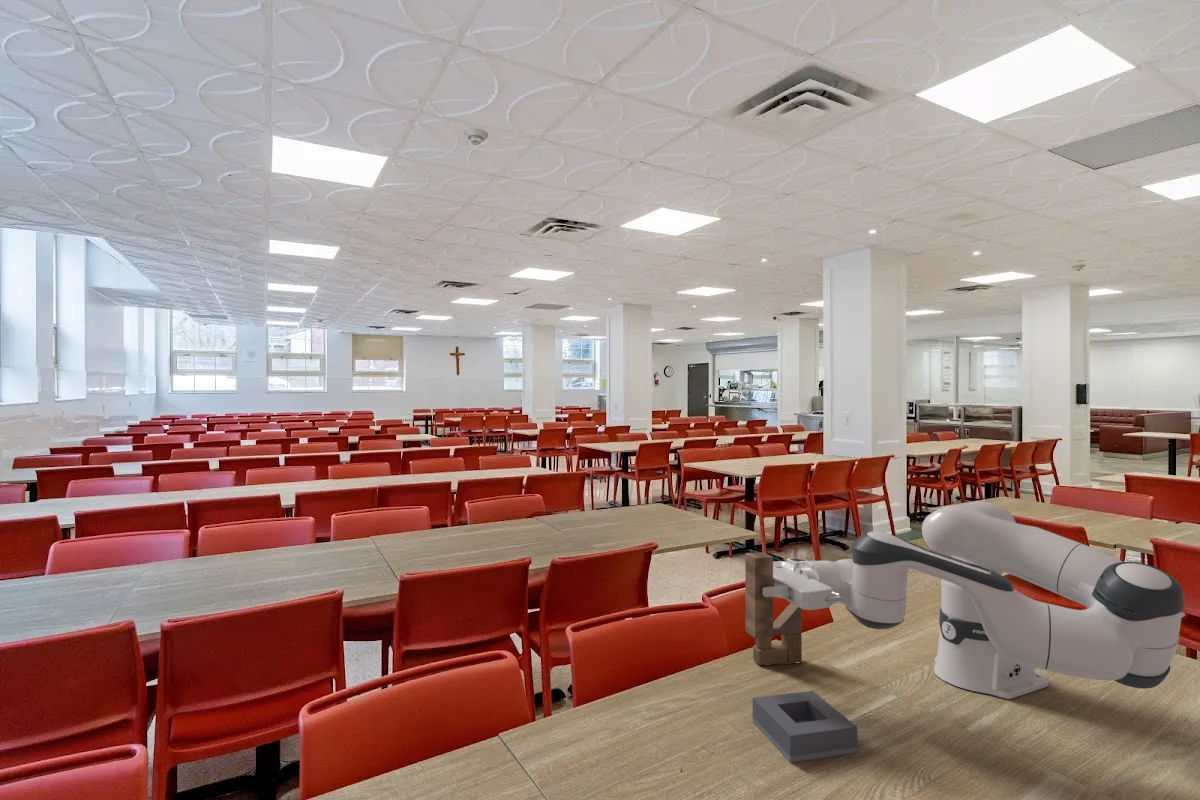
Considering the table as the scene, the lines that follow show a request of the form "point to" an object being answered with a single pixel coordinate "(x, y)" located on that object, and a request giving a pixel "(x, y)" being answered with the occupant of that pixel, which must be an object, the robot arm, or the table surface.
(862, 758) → the table surface
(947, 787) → the table surface
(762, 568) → the brown rectangular bar
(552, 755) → the table surface
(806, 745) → the grey socket base
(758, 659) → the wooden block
